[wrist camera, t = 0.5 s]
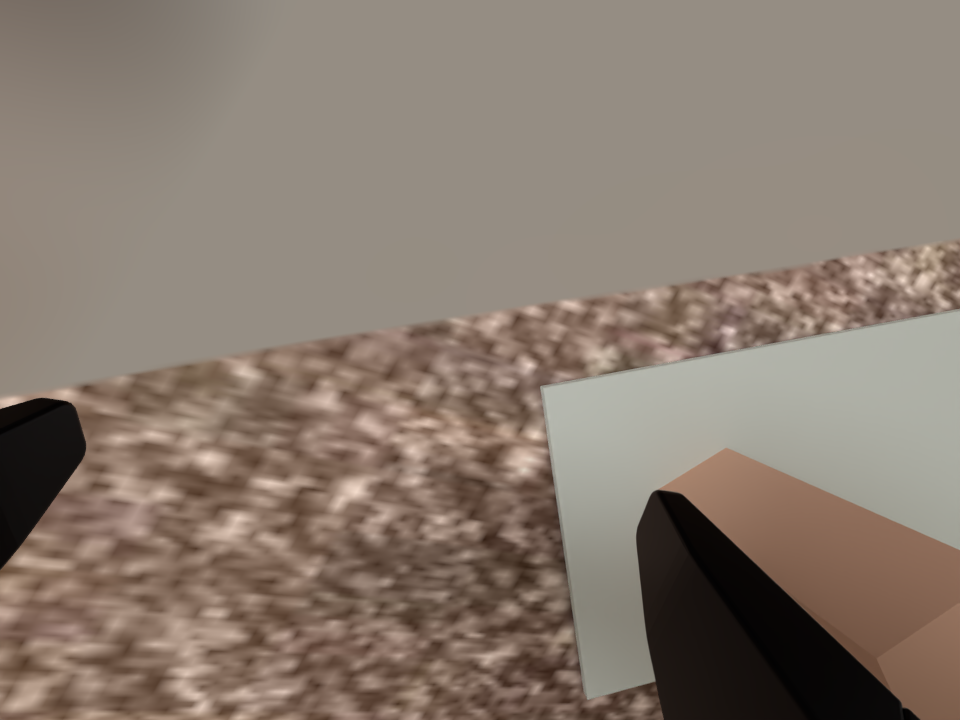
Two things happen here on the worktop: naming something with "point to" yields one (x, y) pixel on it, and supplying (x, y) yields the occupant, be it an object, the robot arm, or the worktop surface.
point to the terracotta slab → (846, 573)
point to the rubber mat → (748, 453)
